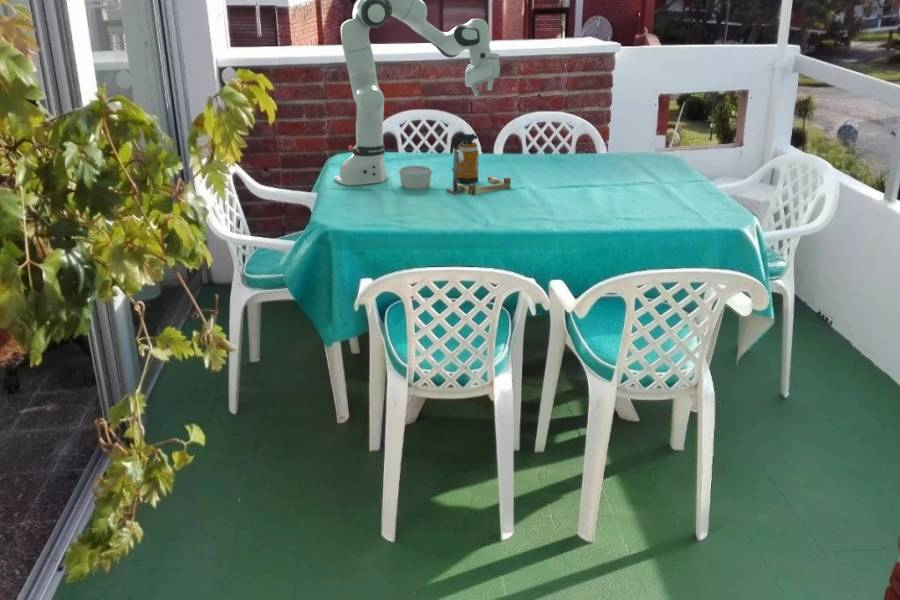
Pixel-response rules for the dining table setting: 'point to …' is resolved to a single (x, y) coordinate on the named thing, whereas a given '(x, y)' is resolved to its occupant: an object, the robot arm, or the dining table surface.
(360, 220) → the dining table surface
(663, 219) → the dining table surface
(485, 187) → the cradle
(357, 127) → the robot arm
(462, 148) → the canister
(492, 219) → the dining table surface
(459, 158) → the mirror on stand
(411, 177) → the ramekin
